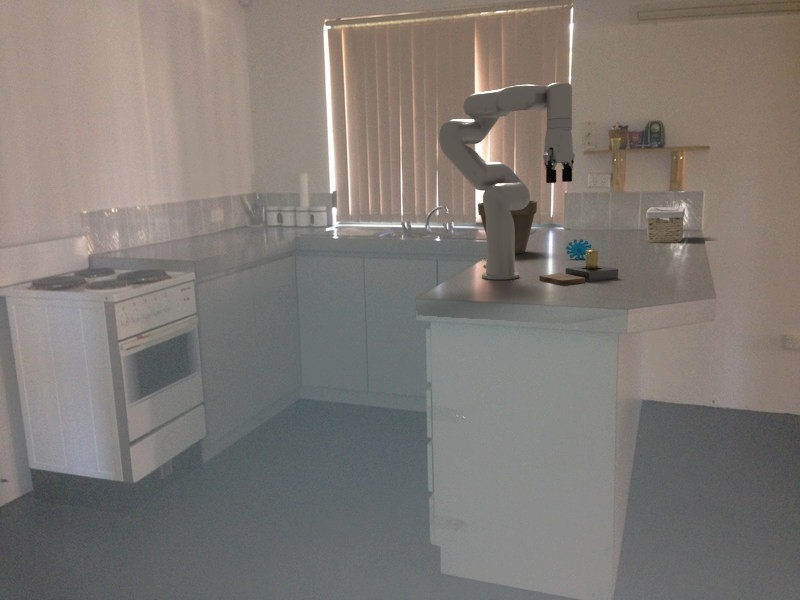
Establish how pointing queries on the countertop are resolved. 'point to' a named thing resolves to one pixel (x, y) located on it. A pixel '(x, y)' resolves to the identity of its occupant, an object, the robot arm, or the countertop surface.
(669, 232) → the storage basket
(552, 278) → the board
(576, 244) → the gear
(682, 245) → the countertop surface
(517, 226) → the plant pot
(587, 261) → the key peg
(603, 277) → the grey square frame
